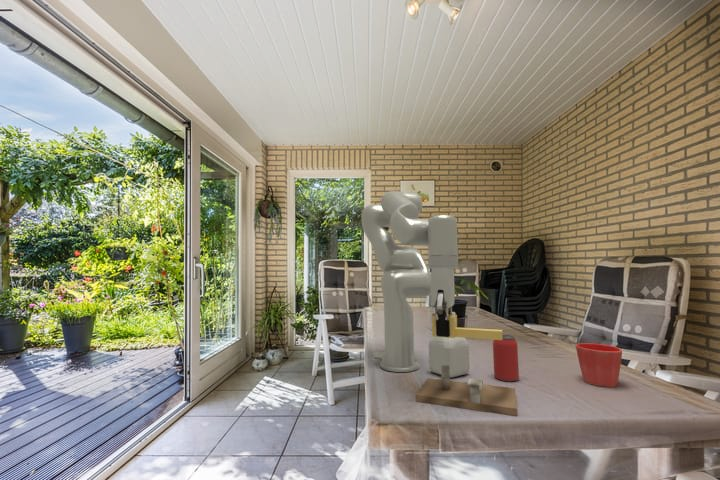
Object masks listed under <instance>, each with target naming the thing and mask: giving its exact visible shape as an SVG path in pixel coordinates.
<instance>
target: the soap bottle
mask: <svg viewBox="0 0 720 480" xmlns="http://www.w3.org/2000/svg"><path fill="white" fill-rule="evenodd" d="M452 315H456V312H455V311H452ZM469 346H470V344H469V341H468V340H467V338H463V337H455V338H446V337H433V336H431V338H430V339H429V341H428V360H429V361H428V363H429V364H428V365H429V370H430V371H431V372H432V373H434V374H436V375H440V376H442V373H441V366H442V365H447V366H449V368H450V379H451V378H456V377H460V376H463V375H467V374H468V373H469V372H470V347H469Z"/></svg>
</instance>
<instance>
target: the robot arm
mask: <svg viewBox="0 0 720 480" xmlns="http://www.w3.org/2000/svg"><path fill="white" fill-rule="evenodd" d="M422 209H423V200H422V198H421V196H420V195H419V194H418V193H416V192H411V191H399V190H391V191H387V192H385V193H384V194H383V195H382V196H381V198H380V203H379V204H378V203H377V204H376V203H375V204H374V203H373V204H369V205H366V206H365V207H364V208H363V209H362V212H361V226H362V229H363V232H364V234H365V236H366V238H367V239H368V241H369V242H370V244H371V247H372V250H373V252H374V255H375V259H376V261H377V264H378V267H379V269H380V270H381V271H382V272H383V274H382V276H381V277H380V288H381V293H382V298H383V318H384V323H383V324H384V351H382V352H380V351H374V352H373V353H372V356H373V358H374V359H376V360H381V361H380V363H379V367H380V368H381V370H385V371H387V372H393V373H408V372H415V371H417V370H419V368H420V363H419V362H418V361H415V348H414V347H415V339H414V338H415V337H414V329H415V328H414V311H413V308H412V307H411V305H410V303H409V302H408V300H407V299H414V298H415V299H417V298H419V299H420V298H426V297H428V296H430V297H429V298H430V299H429V300H430V303H429V305H430V307H431V308H433V309H434V308H436V309H435V310H436V311H435V314H436V335H437V336H440V337H449V336H450V324H449V320H448V314H451V315H452V312H453V306H454V305H455V298H456V297H455V295H456V294H455V273H454V272H455V269H456V270H457V269H459V253H458V252H459V251H458V250H459V249H458V247H459V246H458V224H457V222H458V221H457V219H456V217H455V216H452V215H448V214H447V215H446V214H441V215H440V214H439V215H434V216H431V217H429V218H427V219H426V218H419V217H420V213H421V212H422ZM386 228H389V229H390V232H391V233H390V232H389V231H388V230H387V229H386ZM395 239H396V240H397V241H398V242H399V243H400V244H402V245H404V246H401V245H397V243H396V241H395ZM414 246H415V247H414ZM416 246H418V247H420V246H421V247H423V246H424V247H427V254H428V255H427V257H428V258H427V259H428V261H427V262H428V266H427V263H426V261H425V258H424V256H423V255H422V253H421V251H420V250H419V249H418V248H416ZM430 271H431V272H430Z"/></svg>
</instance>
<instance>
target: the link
mask: <svg viewBox="0 0 720 480" xmlns="http://www.w3.org/2000/svg"><path fill="white" fill-rule="evenodd" d="M448 320H449V324H450V336H449V337H446V338H455V337H463V338H465V339H479V340H480V339H481V340H502V335H503V329H494V328H492V329H491V328H489V329H488V328H476V327H475V328H473V327H460V326H459V327H458V315H457V314H455V315H451V314H448ZM431 324H432V325H431V326H432V327H431V330H432V331H431V332H432V336H431V337H440V336H437V335H436V313H435V314H433V315H432V316H431Z"/></svg>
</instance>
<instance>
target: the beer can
mask: <svg viewBox="0 0 720 480" xmlns="http://www.w3.org/2000/svg"><path fill="white" fill-rule="evenodd" d="M492 351H493V352H492V353H493V356H492V357H493V375H494V377H495V379H497V380H499V381H502V382H507V383H509V382H511V383H512V382H516V381H518V380H519V378H520V371H519V350H518V342H517V340H516V337H515V336H514V335H510V334H502V340H493V341H492Z"/></svg>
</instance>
